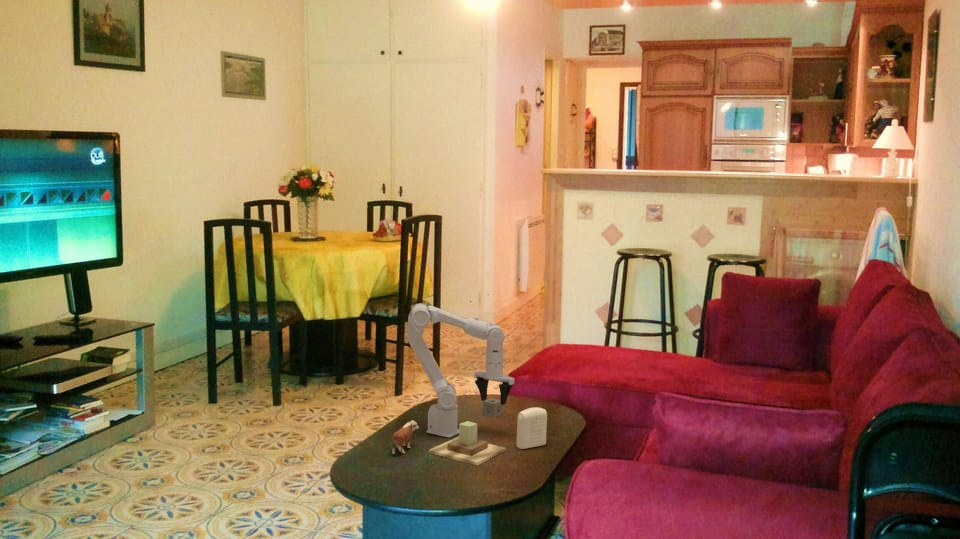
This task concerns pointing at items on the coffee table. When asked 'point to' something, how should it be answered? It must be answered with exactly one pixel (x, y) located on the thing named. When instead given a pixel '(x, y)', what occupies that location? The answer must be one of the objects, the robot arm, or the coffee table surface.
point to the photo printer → (531, 428)
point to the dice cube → (492, 407)
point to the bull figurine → (404, 436)
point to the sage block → (468, 433)
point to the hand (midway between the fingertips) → (493, 402)
